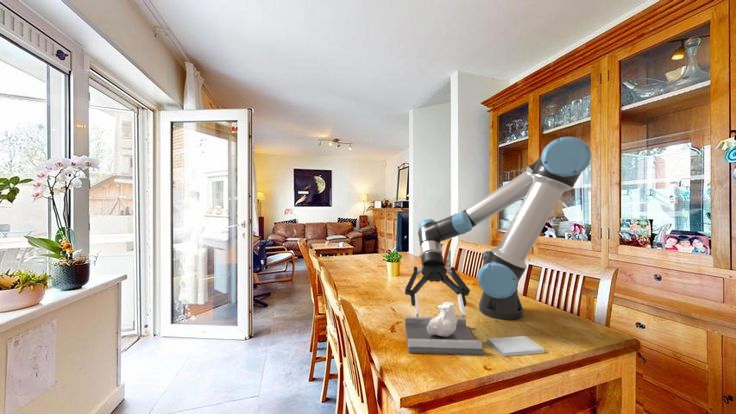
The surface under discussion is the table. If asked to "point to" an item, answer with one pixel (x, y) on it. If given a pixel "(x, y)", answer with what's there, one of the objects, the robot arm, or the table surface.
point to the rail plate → (440, 338)
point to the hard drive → (515, 346)
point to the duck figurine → (443, 321)
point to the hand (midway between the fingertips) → (440, 316)
